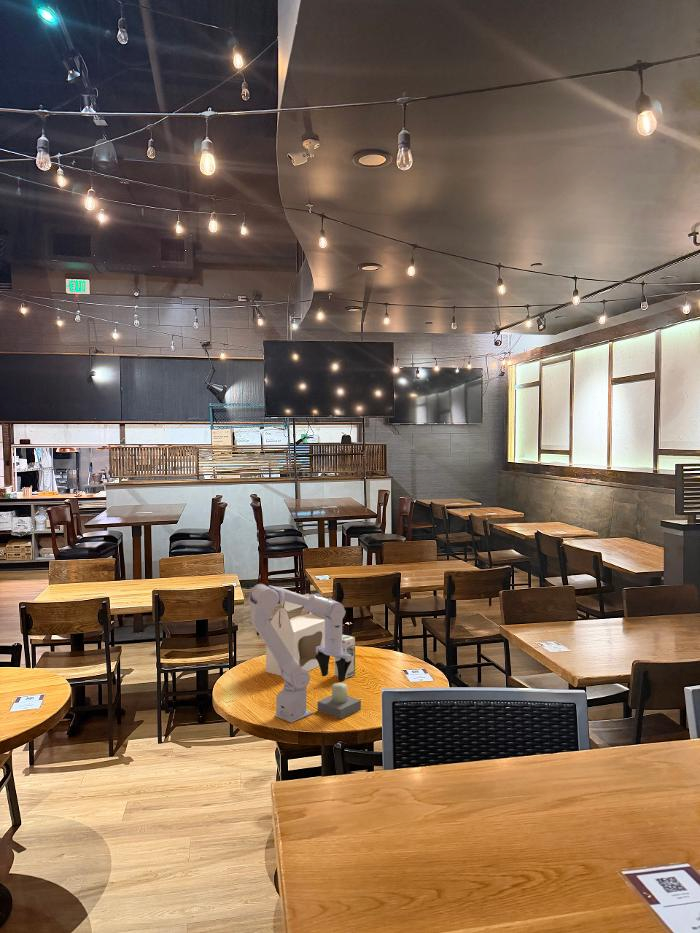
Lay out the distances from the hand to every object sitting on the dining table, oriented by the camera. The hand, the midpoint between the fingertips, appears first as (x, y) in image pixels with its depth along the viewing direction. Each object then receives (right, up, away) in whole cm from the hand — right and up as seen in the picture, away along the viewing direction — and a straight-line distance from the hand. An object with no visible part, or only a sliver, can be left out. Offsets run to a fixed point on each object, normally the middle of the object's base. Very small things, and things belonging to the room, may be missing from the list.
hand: (333, 678), depth 204 cm
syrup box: (+4, -9, +30) cm, 32 cm away
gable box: (-15, -9, +39) cm, 43 cm away
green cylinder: (+2, -6, -3) cm, 7 cm away
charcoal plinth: (+2, -9, -3) cm, 10 cm away
